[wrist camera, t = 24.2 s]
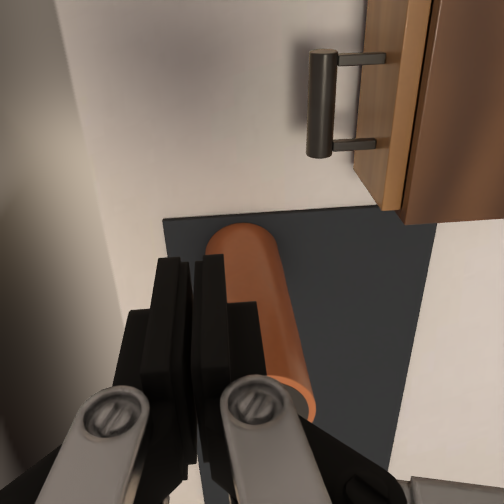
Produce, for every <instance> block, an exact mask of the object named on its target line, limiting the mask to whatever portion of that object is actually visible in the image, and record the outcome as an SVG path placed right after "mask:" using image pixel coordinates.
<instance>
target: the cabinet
mask: <svg viewBox="0 0 504 504" xmlns="http://www.w3.org/2000/svg"><path fill="white" fill-rule="evenodd" d="M394 211H395V213H396V214H397V215H398V217H399V218H400V219H401V221H402V222H403V224H404V225H415V224H430V223H445V222H460V221H475V220H489V219H504V0H434V3H433V10H432V16H431V23H430V29H429V36H428V42H427V49H426V55H425V62H424V69H423V75H422V82H421V88H420V95H419V101H418V108H417V114H416V121H415V128H414V134H413V141H412V147H411V154H410V160H409V167H408V173H407V179H406V178H405V181H404V188H403V194H402V201H401V207H400V210H394Z"/></svg>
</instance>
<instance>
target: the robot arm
mask: <svg viewBox="0 0 504 504" xmlns="http://www.w3.org/2000/svg"><path fill="white" fill-rule="evenodd" d="M197 428H199V435H200V442H201V449H202V456H203V463H210V471H211V479H212V480H213V481H214V482H215V483H217V484H218V485H219V486H220V487H221V488H223V489H224V490H225V491H226V492H227V493H229V501H230V504H504V488H500V487H492V486H484V485H476V484H469V483H461V482H453V481H445V480H438V479H430V478H422V477H414V476H411V480H410V481H404V480H396V479H395V477H393V476H392V475H391V474H390V473H389V472H387V471H386V470H385V469H383V468H382V467H380V466H379V465H377V464H376V463H374V462H372V461H371V460H369V459H368V458H366V457H364V456H363V455H361V454H360V453H358V452H357V451H355V450H353V449H352V448H350V447H349V446H347V445H346V444H344V443H342V442H341V441H339V440H338V439H336V438H335V437H333V436H331V435H330V434H328V433H327V432H325V431H324V430H322V429H320V428H319V427H317V426H316V425H314V424H313V423H311V422H309V421H308V420H306V419H305V418H303V417H302V416H300V415H298V414H297V411H296V409H295V406H294V404H293V401H292V398H291V396H290V394H289V392H288V390H287V389H286V387H285V386H284V385H283V384H282V383H281V382H279V381H278V380H276V379H274V378H272V377H269V376H267V371H266V364H265V357H264V350H263V343H262V336H261V329H260V322H259V315H258V307H257V302H256V301H248V302H234V303H227V291H226V278H225V265H224V254H210V255H203V261H195V270H194V293H193V291H192V283H191V274H190V266H189V262H181V258H180V257H167V258H158V263H157V269H156V275H155V281H154V287H153V293H152V299H151V305H150V309H140V310H130V312H129V314H128V318H127V322H126V327H125V331H124V336H123V340H122V345H121V349H120V354H119V358H118V363H117V367H116V371H115V376H114V381H113V386H112V387H109V388H106V389H103V390H101V391H99V392H97V393H95V394H94V395H92V396H91V397H90V398H89V399H88V400H86V401H85V402H84V403H83V405H82V406H81V408H80V409H79V411H78V412H77V414H76V417H75V419H74V421H73V423H72V425H71V427H70V429H69V431H68V434H67V436H66V438H65V440H64V442H63V444H61V445H60V446H59V447H57V448H56V449H55V450H53V451H52V452H51V453H50V454H48V455H47V456H45V457H44V458H43V459H41V460H40V461H39V462H37V463H36V464H35V465H33V466H32V467H31V468H29V469H28V470H27V471H25V472H24V473H23V474H21V475H20V476H19V477H17V478H16V479H15V480H14V481H12V482H11V483H9V484H8V485H7V486H5V487H4V488H3V489H2V490H0V504H169V499H170V497H169V494H170V493H171V492H172V491H173V490H174V489H175V488H177V487H178V486H179V485H180V484H181V483H182V480H187V479H188V465H191V464H196V463H197Z"/></svg>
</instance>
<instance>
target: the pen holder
mask: <svg viewBox="0 0 504 504" xmlns="http://www.w3.org/2000/svg"><path fill="white" fill-rule="evenodd" d="M210 254H224V265H225V278H226V291H227V303H234V302H248V301H256V302H257V307H258V315H259V322H260V329H261V336H262V343H263V350H264V357H265V364H266V371H267V376H269V377H272V378H274V379H276V380H278V381H279V382H281V383H282V384H283V385H284V386H285V387H286V389H287V390H288V392H289V394H290V396H291V398H292V401H293V404H294V406H295V409H296V411H297V414H298V415H300V416H302V417H303V418H305V419H306V420H308V421H309V422H311V423H312V422H313V420H314V417H315V414H316V403H315V399H314V395H313V391H312V386H311V382H310V378H309V374H308V370H307V366H306V362H305V357H304V353H303V349H302V345H301V341H300V337H299V332H298V328H297V324H296V320H295V316H294V312H293V307H292V303H291V299H290V295H289V291H288V287H287V283H286V278H285V274H284V270H283V266H282V262H281V258H280V253H279V249H278V245H277V243H276V240H275V239H274V237H273V236H272V235H271V234H270V233H269V232H268V231H267V230H266V229H264V228H262V227H260V226H258V225H255V224H251V223H235V224H231V225H228V226H226V227H224V228H222V229H220V230H219V231H217V232H216V233H215V234H214V235H213V236H212V237H211V239H210V240H209V242H208V244H207V247H206V251H205V255H210Z"/></svg>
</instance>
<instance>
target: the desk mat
mask: <svg viewBox="0 0 504 504" xmlns="http://www.w3.org/2000/svg"><path fill="white" fill-rule="evenodd" d="M162 222H163V229H164V235H165V242H166V249H167V255H168V257H180V258H181V262H189V266H190V274H191V283H192V291H193V293H194V270H195V261H203V255H205V251H206V247H207V244H208V242H209V240H210V239H211V237H212V236H213V235H214V234H215V233H216V232H217V231H219V230H220V229H222V228H224V227H226V226H228V225H231V224H235V223H251V224H255V225H258V226H260V227H262V228H264V229H266V230H267V231H268V232H269V233H270V234H271V235H272V236H273V237H274V239H275V240H276V243H277V245H278V249H279V253H280V258H281V262H282V266H283V270H284V274H285V278H286V283H287V287H288V291H289V295H290V299H291V303H292V307H293V312H294V316H295V320H296V324H297V328H298V332H299V337H300V341H301V345H302V349H303V353H304V357H305V362H306V366H307V370H308V374H309V378H310V382H311V386H312V391H313V395H314V399H315V403H316V414H315V417H314V420H313V422H312V423H313V424H314V425H316V426H317V427H319V428H320V429H322V430H324V431H325V432H327V433H328V434H330V435H331V436H333V437H335V438H336V439H338V440H339V441H341V442H342V443H344V444H346V445H347V446H349V447H350V448H352V449H353V450H355V451H357V452H358V453H360V454H361V455H363V456H364V457H366V458H368V459H369V460H371V461H372V462H374V463H376V464H377V465H379V466H380V467H382V468H383V469H385V470H386V471H387V472H388V467H389V462H390V457H391V452H392V447H393V442H394V437H395V432H396V427H397V422H398V417H399V412H400V407H401V402H402V397H403V392H404V387H405V382H406V377H407V372H408V367H409V362H410V357H411V352H412V347H413V342H414V337H415V332H416V327H417V322H418V317H419V312H420V307H421V302H422V297H423V292H424V287H425V282H426V277H427V272H428V267H429V262H430V257H431V252H432V247H433V242H434V237H435V232H436V227H437V223H430V224H415V225H404V224H403V222H402V221H401V219H400V218H399V217H398V215H397V214H396V213H395V211H394V210H389V211H381V209H380V208H379V206H378V205H373V206H358V207H342V208H327V209H312V210H296V211H281V212H265V213H250V214H234V215H219V216H204V217H188V218H173V219H163V221H162ZM197 455H198V462H199V469H200V475H201V482H202V488H203V495H204V502H205V504H230V501H229V493H227V492H226V491H225V490H224V489H223V488H221V487H220V486H219V485H218V484H217V483H215V482H214V481H213V480H212V479H211V471H210V463H203V456H202V449H201V442H200V435H199V428H197Z"/></svg>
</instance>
